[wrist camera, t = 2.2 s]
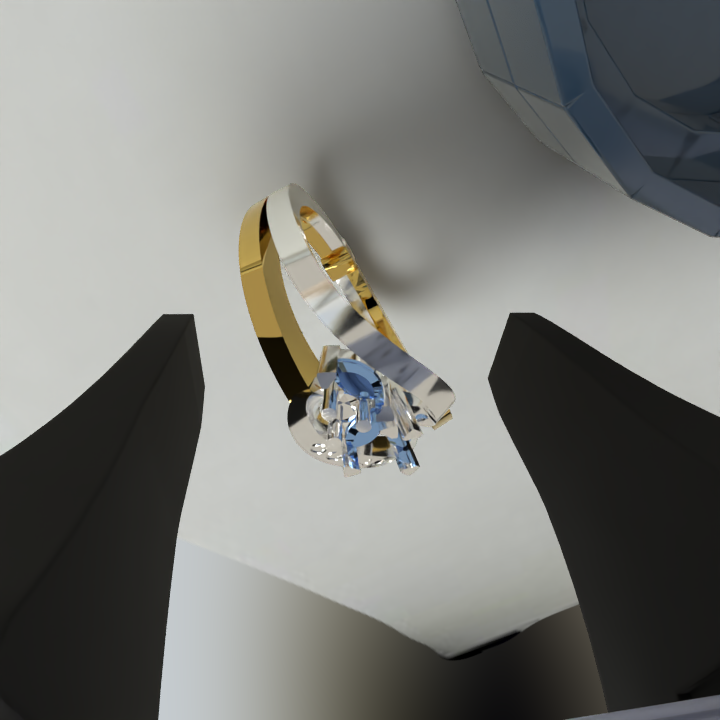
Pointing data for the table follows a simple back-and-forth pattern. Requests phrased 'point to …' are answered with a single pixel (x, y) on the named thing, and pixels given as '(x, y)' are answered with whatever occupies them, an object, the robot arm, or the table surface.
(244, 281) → the ring
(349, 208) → the table surface
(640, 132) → the bowl
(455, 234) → the table surface
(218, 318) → the table surface
